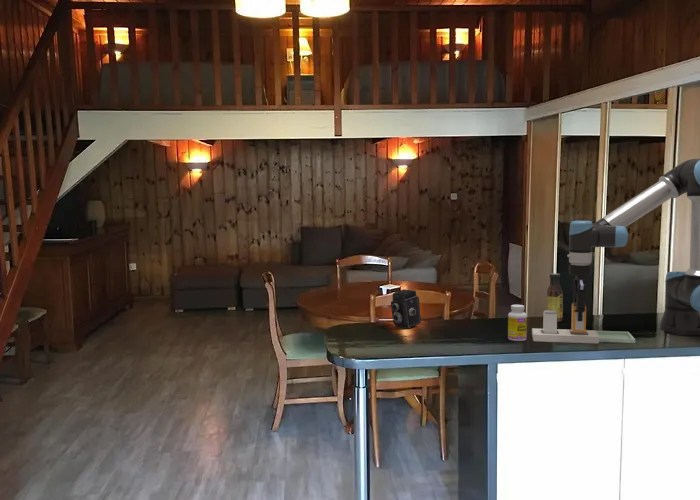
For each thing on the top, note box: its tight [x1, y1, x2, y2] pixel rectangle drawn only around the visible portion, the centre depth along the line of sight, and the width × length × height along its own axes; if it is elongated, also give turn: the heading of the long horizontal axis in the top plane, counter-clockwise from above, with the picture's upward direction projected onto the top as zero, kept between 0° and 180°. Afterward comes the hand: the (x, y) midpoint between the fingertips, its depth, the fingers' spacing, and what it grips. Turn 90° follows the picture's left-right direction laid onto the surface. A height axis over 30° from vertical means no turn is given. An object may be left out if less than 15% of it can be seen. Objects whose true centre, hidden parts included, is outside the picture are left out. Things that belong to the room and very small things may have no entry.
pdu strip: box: [531, 327, 600, 344], centre depth 221 cm, size 22×10×3 cm, turn 76°
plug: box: [570, 301, 587, 333], centre depth 219 cm, size 4×4×10 cm
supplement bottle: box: [507, 304, 528, 342], centre depth 223 cm, size 7×7×13 cm
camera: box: [390, 289, 422, 329], centre depth 248 cm, size 11×11×15 cm
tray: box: [595, 330, 636, 344], centre depth 221 cm, size 12×12×2 cm
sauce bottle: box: [546, 272, 564, 323], centre depth 253 cm, size 7×6×20 cm
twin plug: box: [542, 309, 558, 334], centre depth 222 cm, size 4×4×10 cm
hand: (578, 328), depth 220 cm, fingers closed on plug, 4 cm apart
